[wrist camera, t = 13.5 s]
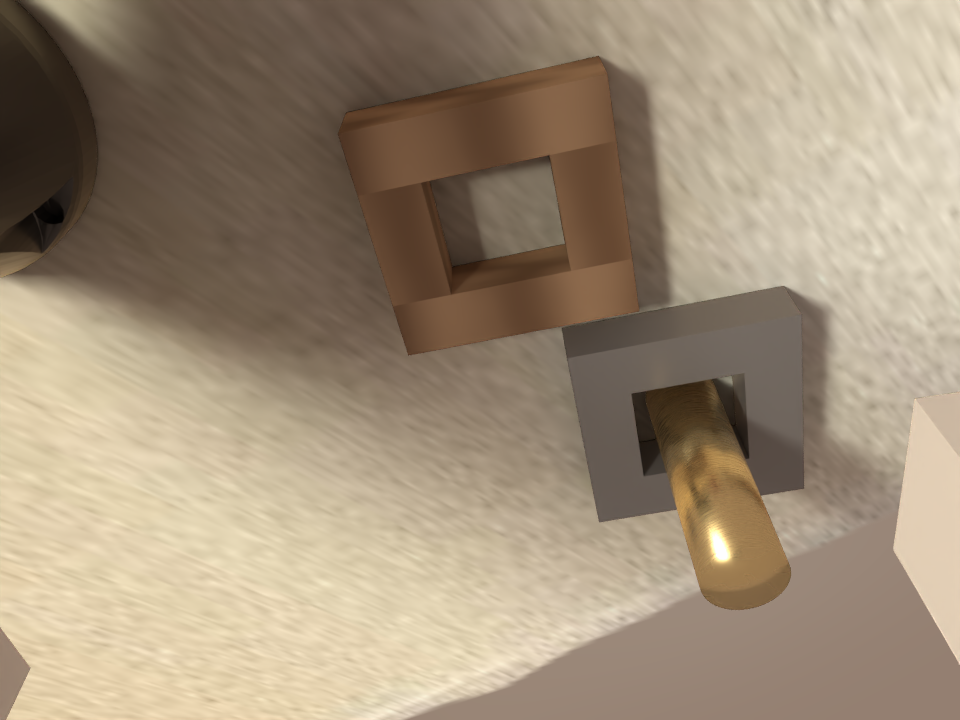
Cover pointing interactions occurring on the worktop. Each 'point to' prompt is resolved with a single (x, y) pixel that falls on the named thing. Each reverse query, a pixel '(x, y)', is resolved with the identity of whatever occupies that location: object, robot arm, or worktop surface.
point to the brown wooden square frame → (480, 145)
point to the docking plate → (680, 360)
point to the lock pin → (717, 498)
